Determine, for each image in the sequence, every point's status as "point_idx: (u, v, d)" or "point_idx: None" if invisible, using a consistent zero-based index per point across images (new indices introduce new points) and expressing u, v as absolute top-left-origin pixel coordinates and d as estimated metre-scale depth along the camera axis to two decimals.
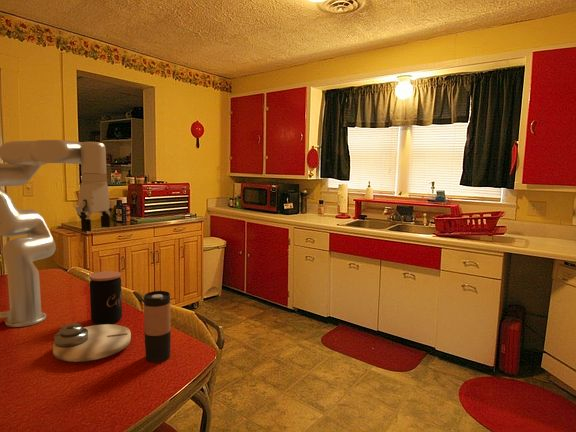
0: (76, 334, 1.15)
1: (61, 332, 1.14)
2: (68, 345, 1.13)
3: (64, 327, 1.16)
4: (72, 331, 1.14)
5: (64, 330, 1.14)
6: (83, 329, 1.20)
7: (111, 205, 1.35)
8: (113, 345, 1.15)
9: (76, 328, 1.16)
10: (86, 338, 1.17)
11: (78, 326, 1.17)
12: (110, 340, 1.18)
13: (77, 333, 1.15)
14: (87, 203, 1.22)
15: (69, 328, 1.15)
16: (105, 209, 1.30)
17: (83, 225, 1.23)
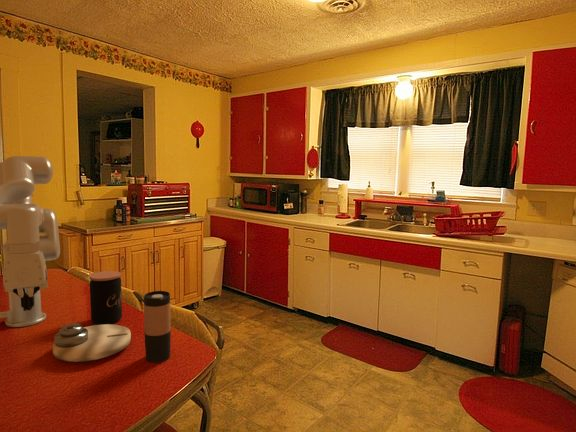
0: (76, 334, 1.15)
1: (61, 332, 1.14)
2: (68, 345, 1.13)
3: (64, 327, 1.16)
4: (72, 331, 1.14)
5: (64, 330, 1.14)
6: (83, 329, 1.20)
7: None
8: (113, 345, 1.15)
9: (76, 328, 1.16)
10: (86, 338, 1.17)
11: (78, 326, 1.17)
12: (110, 340, 1.18)
13: (77, 333, 1.15)
14: (46, 272, 1.13)
15: (69, 328, 1.15)
16: None
17: (33, 302, 1.11)
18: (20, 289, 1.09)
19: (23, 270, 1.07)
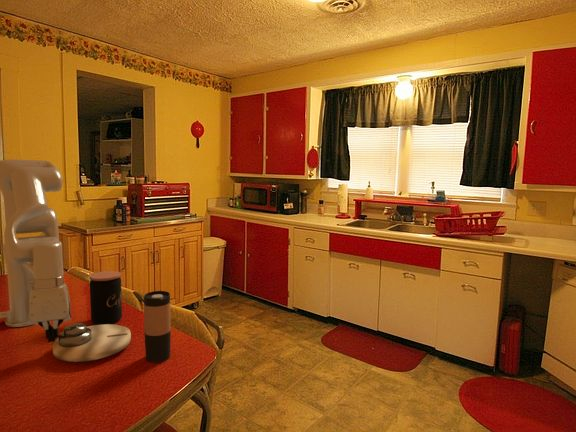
0: (79, 334, 1.15)
1: (65, 332, 1.14)
2: (71, 345, 1.13)
3: (68, 327, 1.16)
4: (75, 331, 1.14)
5: (68, 329, 1.14)
6: (87, 329, 1.20)
7: None
8: (113, 345, 1.15)
9: (79, 328, 1.16)
10: (89, 338, 1.17)
11: (82, 326, 1.17)
12: (110, 340, 1.18)
13: (80, 333, 1.15)
14: (69, 304, 1.16)
15: (72, 328, 1.16)
16: None
17: (57, 333, 1.15)
18: (45, 322, 1.12)
19: (48, 304, 1.11)
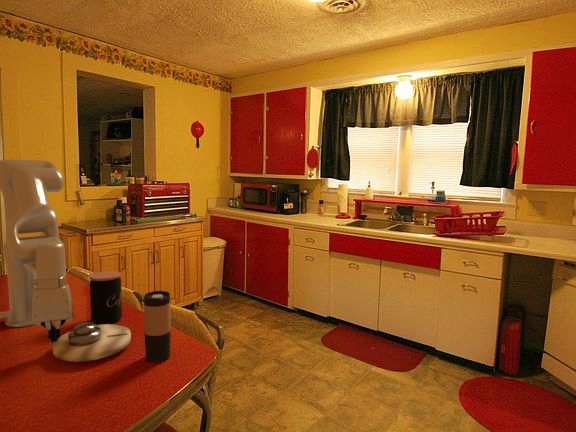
0: (89, 333, 1.16)
1: (74, 331, 1.15)
2: (81, 344, 1.14)
3: (78, 326, 1.17)
4: (85, 330, 1.15)
5: (78, 328, 1.15)
6: (96, 328, 1.21)
7: None
8: (113, 345, 1.15)
9: (89, 327, 1.17)
10: (99, 337, 1.18)
11: (91, 325, 1.18)
12: (110, 340, 1.18)
13: (90, 332, 1.16)
14: (72, 304, 1.17)
15: (82, 327, 1.16)
16: None
17: (59, 333, 1.15)
18: (48, 322, 1.13)
19: (51, 304, 1.11)
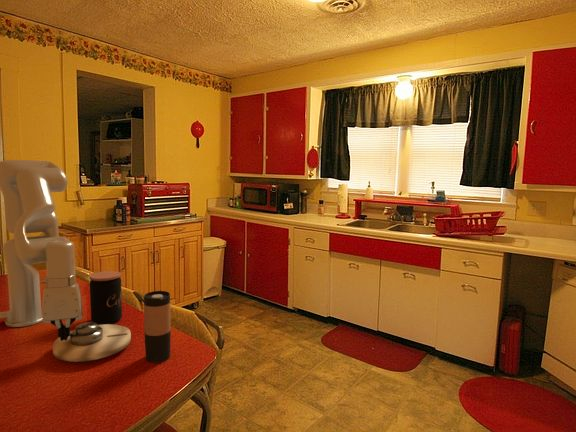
0: (91, 333, 1.16)
1: (76, 330, 1.15)
2: (83, 343, 1.14)
3: (79, 325, 1.18)
4: (87, 330, 1.15)
5: (80, 328, 1.15)
6: (98, 328, 1.21)
7: None
8: (113, 345, 1.15)
9: (91, 327, 1.17)
10: (101, 337, 1.18)
11: (93, 325, 1.18)
12: (110, 340, 1.18)
13: (92, 332, 1.16)
14: (81, 303, 1.18)
15: (84, 327, 1.17)
16: None
17: (69, 332, 1.16)
18: (57, 320, 1.14)
19: (61, 303, 1.12)
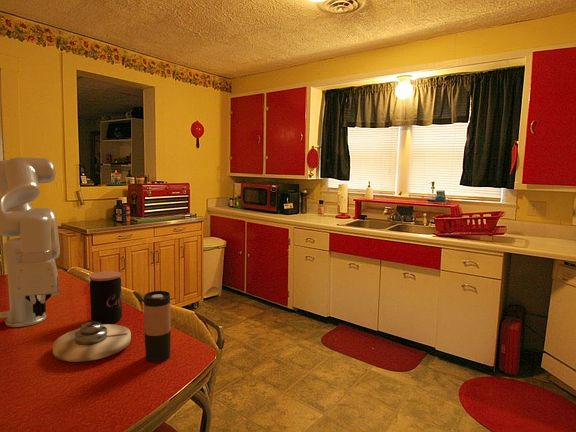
0: (95, 332, 1.17)
1: (81, 330, 1.16)
2: (87, 343, 1.14)
3: (84, 325, 1.18)
4: (91, 329, 1.16)
5: (84, 328, 1.16)
6: (102, 327, 1.21)
7: None
8: (113, 345, 1.15)
9: (95, 326, 1.17)
10: (105, 336, 1.19)
11: (97, 324, 1.19)
12: (110, 340, 1.18)
13: (96, 331, 1.17)
14: None
15: (89, 326, 1.17)
16: None
17: (44, 308, 1.14)
18: (32, 296, 1.11)
19: (36, 278, 1.09)
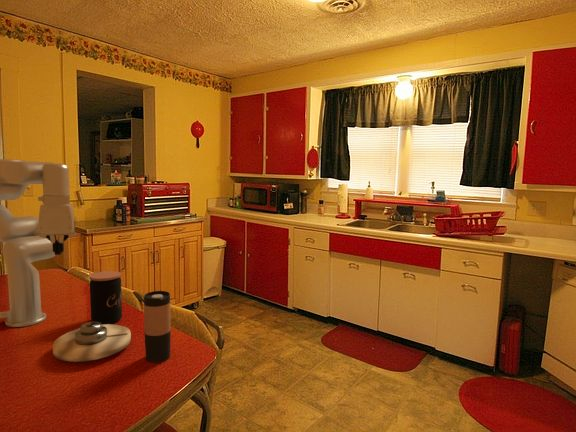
0: (95, 332, 1.17)
1: (81, 330, 1.16)
2: (87, 343, 1.14)
3: (84, 325, 1.18)
4: (91, 329, 1.16)
5: (84, 328, 1.16)
6: (102, 327, 1.21)
7: None
8: (113, 345, 1.15)
9: (95, 326, 1.17)
10: (105, 336, 1.19)
11: (97, 324, 1.19)
12: (110, 340, 1.18)
13: (96, 331, 1.17)
14: (74, 223, 1.29)
15: (89, 326, 1.17)
16: None
17: (63, 248, 1.28)
18: (52, 236, 1.25)
19: (55, 219, 1.23)
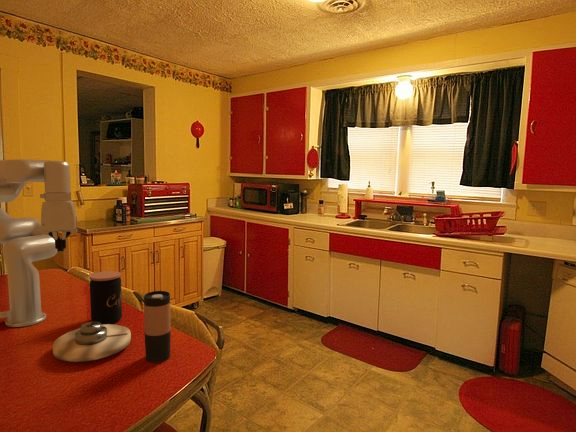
0: (95, 332, 1.17)
1: (81, 330, 1.16)
2: (87, 343, 1.14)
3: (84, 325, 1.18)
4: (91, 329, 1.16)
5: (84, 328, 1.16)
6: (102, 327, 1.21)
7: None
8: (113, 345, 1.15)
9: (95, 326, 1.17)
10: (105, 336, 1.19)
11: (97, 324, 1.19)
12: (110, 340, 1.18)
13: (96, 331, 1.17)
14: (76, 219, 1.30)
15: (89, 326, 1.17)
16: None
17: (65, 244, 1.29)
18: (55, 232, 1.26)
19: (58, 216, 1.25)
